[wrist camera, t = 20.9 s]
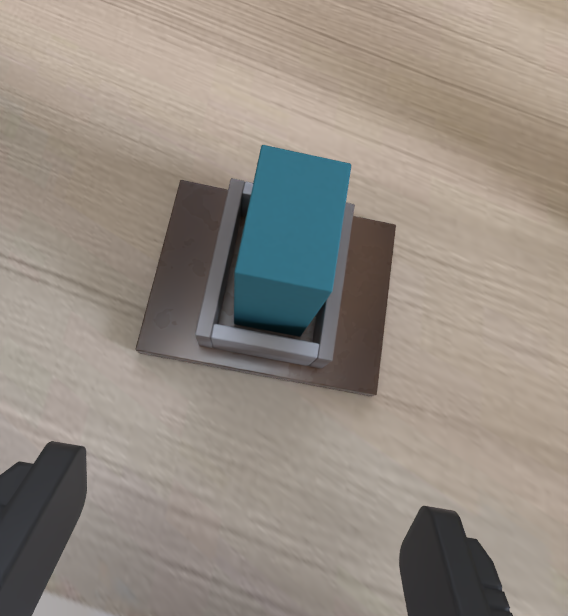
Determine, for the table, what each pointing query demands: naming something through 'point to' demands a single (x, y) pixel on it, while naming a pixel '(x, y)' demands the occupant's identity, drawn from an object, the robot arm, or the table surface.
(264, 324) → the teal rectangular block
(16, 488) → the robot arm
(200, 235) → the board
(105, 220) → the table surface
